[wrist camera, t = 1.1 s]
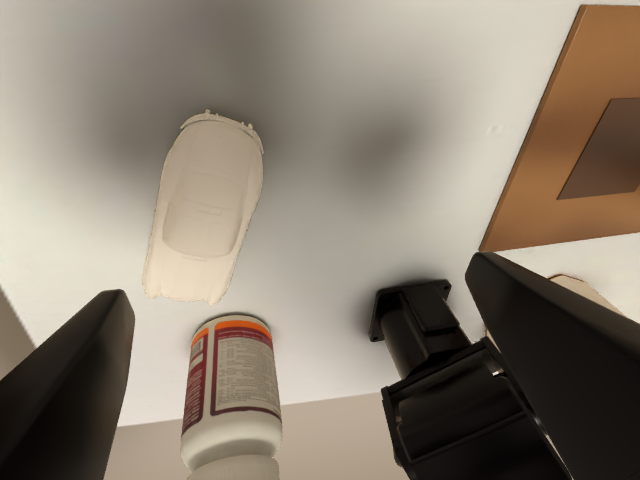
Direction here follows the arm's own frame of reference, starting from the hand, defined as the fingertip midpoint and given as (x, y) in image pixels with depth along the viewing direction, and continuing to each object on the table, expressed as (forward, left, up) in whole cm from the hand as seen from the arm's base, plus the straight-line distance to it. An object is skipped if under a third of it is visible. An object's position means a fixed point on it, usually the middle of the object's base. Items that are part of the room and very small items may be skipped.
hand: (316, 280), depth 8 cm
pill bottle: (-16, +4, -11) cm, 20 cm away
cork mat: (-2, -24, -11) cm, 26 cm away
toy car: (-4, +4, -11) cm, 13 cm away
